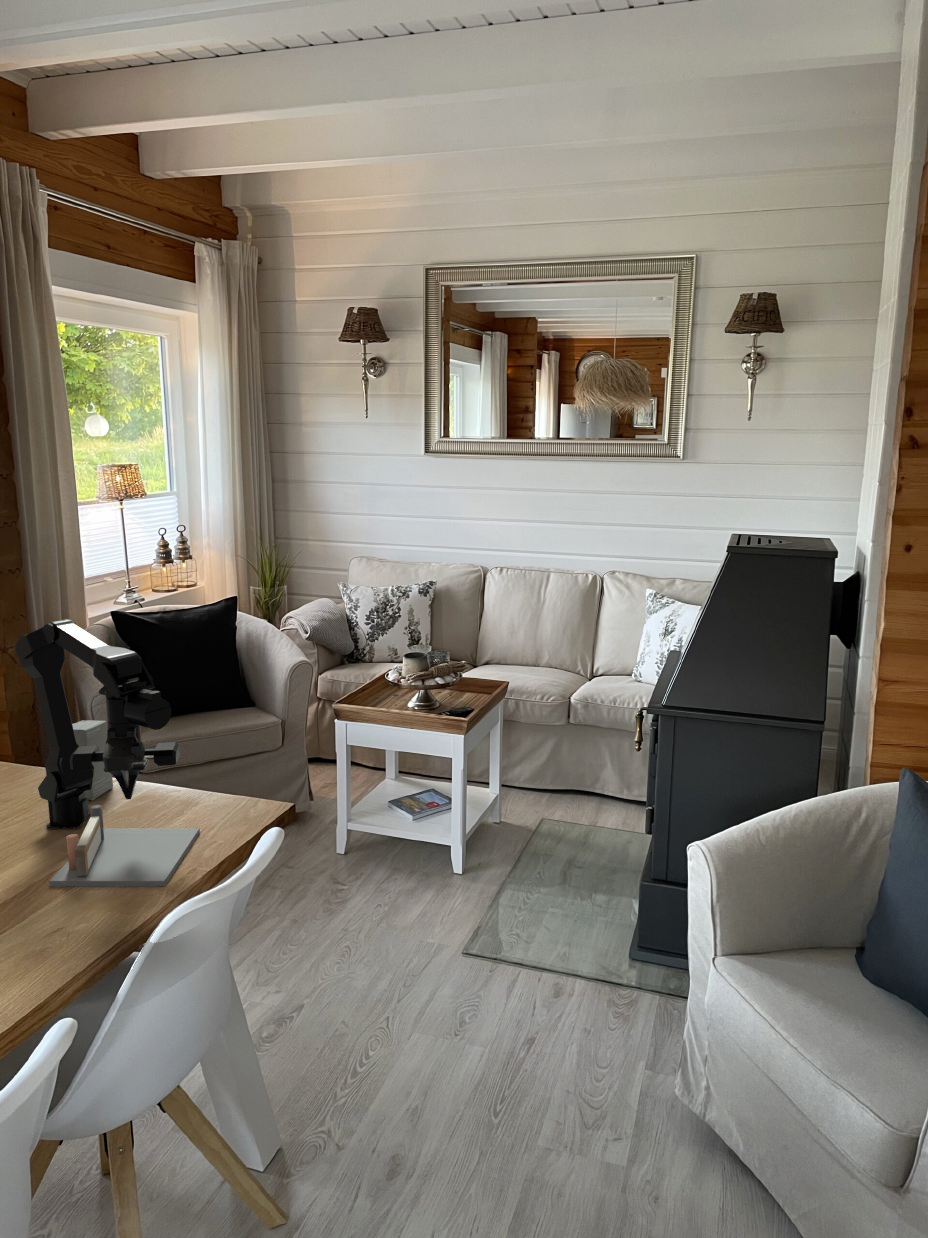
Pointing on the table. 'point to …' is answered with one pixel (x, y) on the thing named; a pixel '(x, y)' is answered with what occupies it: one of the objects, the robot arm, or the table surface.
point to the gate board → (129, 856)
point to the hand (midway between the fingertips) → (129, 798)
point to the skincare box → (97, 735)
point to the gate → (87, 846)
